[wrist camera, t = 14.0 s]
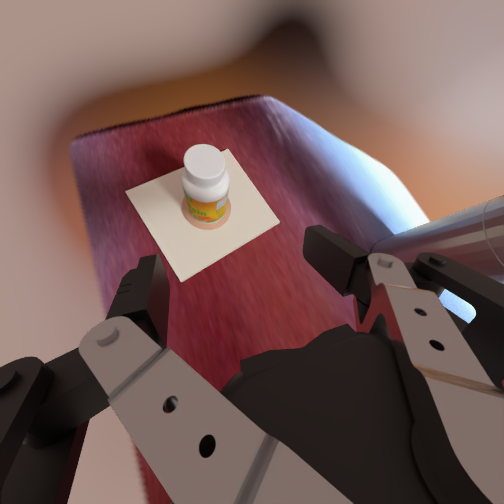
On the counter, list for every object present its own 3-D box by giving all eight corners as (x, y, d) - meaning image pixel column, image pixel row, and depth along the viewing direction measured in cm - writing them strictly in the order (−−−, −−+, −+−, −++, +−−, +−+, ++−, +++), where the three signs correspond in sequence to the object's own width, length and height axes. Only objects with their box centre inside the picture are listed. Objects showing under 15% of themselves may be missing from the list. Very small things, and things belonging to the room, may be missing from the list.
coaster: (215, 179, 29) (215, 178, 29) (239, 215, 29) (240, 214, 28) (173, 198, 27) (172, 197, 27) (198, 238, 27) (198, 237, 26)
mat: (227, 151, 32) (228, 148, 31) (278, 223, 30) (279, 221, 30) (126, 193, 27) (124, 191, 26) (181, 282, 25) (180, 281, 25)
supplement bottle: (180, 209, 27) (162, 161, 18) (204, 184, 28) (200, 128, 19) (211, 231, 27) (209, 195, 18) (233, 205, 29) (242, 160, 19)
